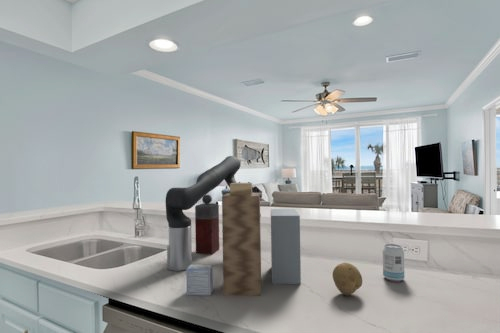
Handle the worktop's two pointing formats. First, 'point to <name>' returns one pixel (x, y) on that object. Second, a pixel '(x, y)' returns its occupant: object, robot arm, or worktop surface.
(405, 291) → the worktop surface
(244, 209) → the tall pedestal
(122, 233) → the worktop surface
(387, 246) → the beverage can
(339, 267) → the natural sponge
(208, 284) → the medicine box
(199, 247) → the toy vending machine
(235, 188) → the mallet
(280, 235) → the short pedestal
